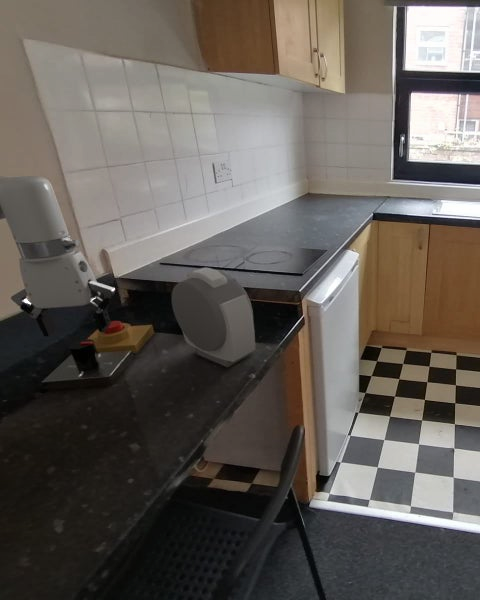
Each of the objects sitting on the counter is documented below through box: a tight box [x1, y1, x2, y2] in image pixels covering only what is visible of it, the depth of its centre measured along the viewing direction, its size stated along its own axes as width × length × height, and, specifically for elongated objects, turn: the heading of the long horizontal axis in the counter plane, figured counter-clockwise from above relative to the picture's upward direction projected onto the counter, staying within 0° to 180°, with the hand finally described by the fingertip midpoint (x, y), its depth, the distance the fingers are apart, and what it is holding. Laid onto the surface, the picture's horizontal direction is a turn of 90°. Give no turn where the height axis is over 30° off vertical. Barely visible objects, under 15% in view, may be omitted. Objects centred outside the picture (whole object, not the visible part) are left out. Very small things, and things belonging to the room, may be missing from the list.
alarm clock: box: [171, 266, 256, 368], centre depth 86 cm, size 18×8×20 cm, turn 59°
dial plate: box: [41, 350, 134, 391], centre depth 83 cm, size 12×10×2 cm
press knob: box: [104, 320, 123, 334], centre depth 93 cm, size 4×4×2 cm
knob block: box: [87, 322, 155, 355], centre depth 94 cm, size 12×10×4 cm
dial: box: [68, 338, 101, 370], centre depth 82 cm, size 4×4×5 cm
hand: (78, 330), depth 80 cm, fingers open, 9 cm apart
